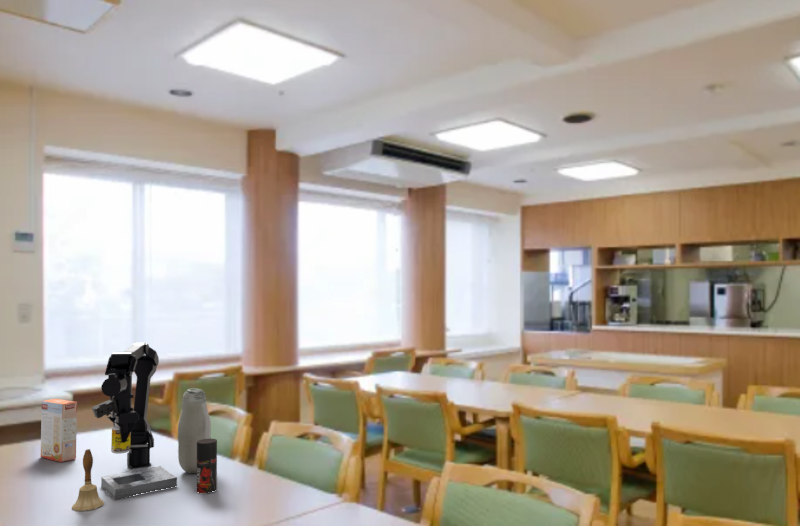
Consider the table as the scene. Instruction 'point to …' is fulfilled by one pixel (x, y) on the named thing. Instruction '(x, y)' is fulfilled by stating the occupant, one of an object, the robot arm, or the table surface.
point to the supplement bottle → (119, 441)
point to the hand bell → (88, 488)
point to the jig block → (138, 482)
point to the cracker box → (58, 430)
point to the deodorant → (206, 465)
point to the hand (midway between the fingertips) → (121, 440)
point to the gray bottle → (192, 428)
